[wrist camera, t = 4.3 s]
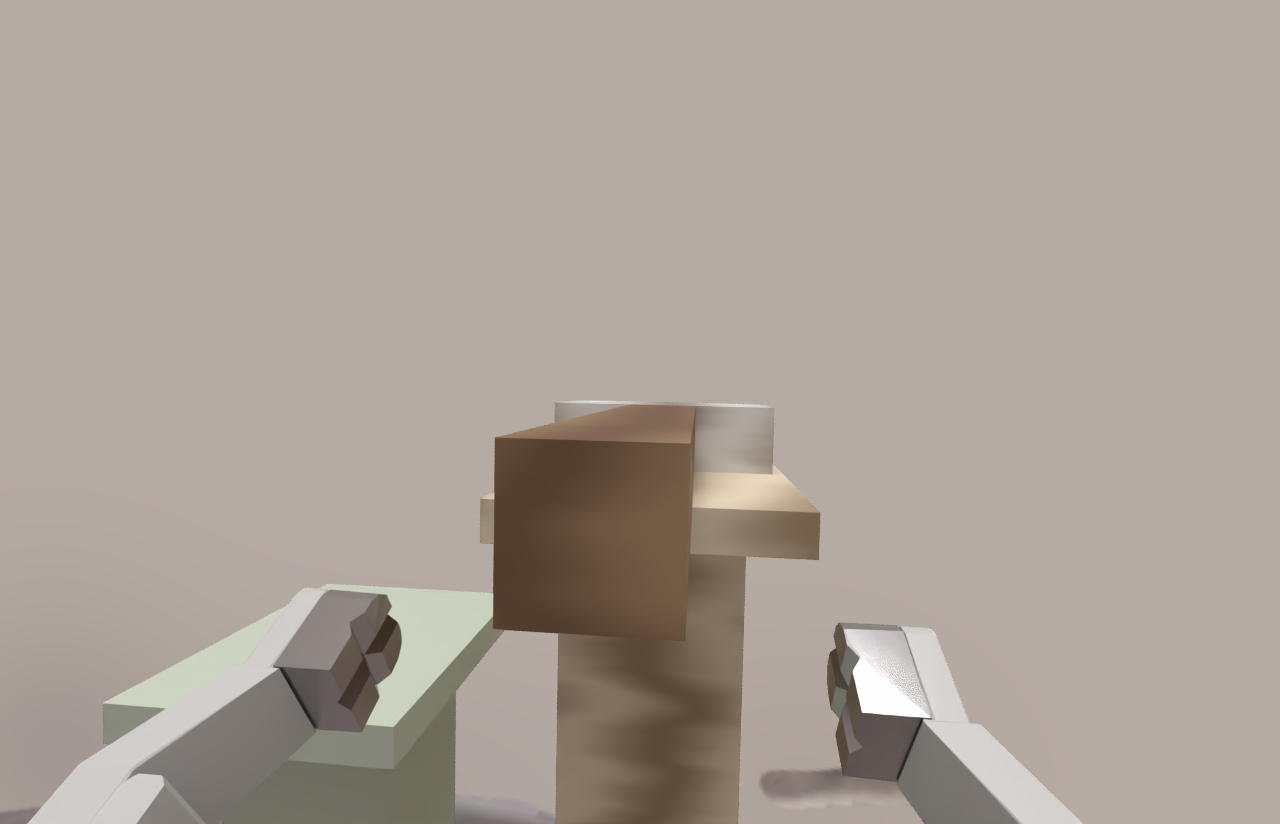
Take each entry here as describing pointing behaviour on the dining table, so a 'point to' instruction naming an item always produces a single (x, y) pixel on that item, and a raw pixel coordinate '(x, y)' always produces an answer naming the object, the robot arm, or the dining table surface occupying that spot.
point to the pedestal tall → (673, 671)
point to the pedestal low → (392, 738)
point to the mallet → (611, 512)
